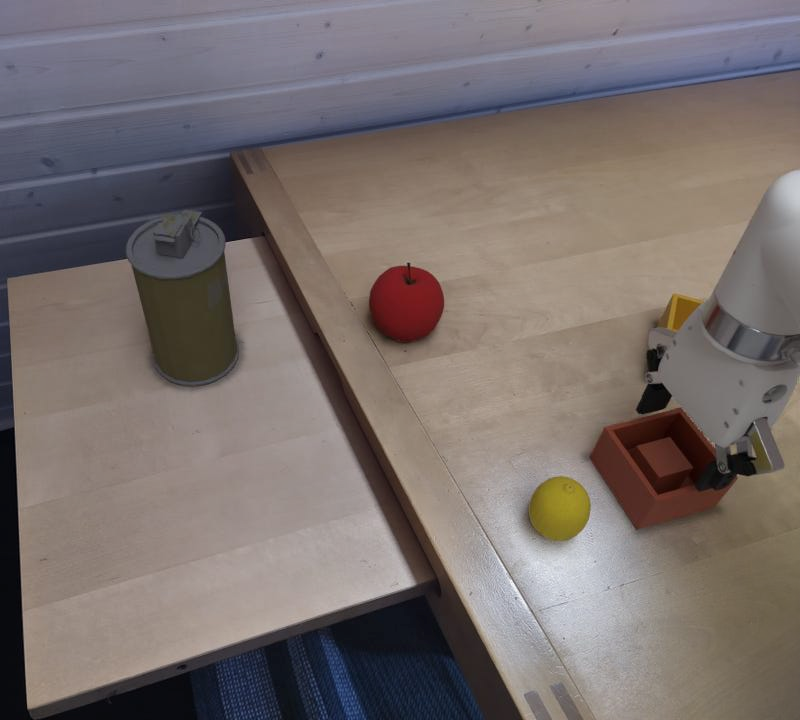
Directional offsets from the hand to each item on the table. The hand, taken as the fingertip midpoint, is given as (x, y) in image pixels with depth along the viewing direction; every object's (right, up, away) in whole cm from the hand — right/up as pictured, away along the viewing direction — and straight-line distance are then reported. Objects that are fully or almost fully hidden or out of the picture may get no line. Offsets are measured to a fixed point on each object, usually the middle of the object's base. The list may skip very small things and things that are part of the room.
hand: (678, 446), depth 70 cm
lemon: (-12, -9, +2) cm, 15 cm away
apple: (-25, +12, +21) cm, 35 cm away
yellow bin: (+11, +8, +17) cm, 21 cm away
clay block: (0, -4, +5) cm, 7 cm away
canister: (-50, +9, +18) cm, 54 cm away
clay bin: (0, -5, +6) cm, 7 cm away
